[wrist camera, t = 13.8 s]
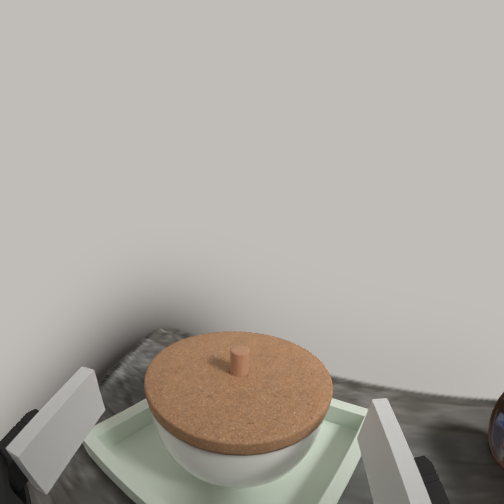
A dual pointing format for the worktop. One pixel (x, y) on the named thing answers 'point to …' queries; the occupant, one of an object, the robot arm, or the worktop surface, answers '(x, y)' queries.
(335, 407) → the tray
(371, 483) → the robot arm
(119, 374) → the worktop surface
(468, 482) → the worktop surface
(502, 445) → the tin
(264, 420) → the lidded jar
